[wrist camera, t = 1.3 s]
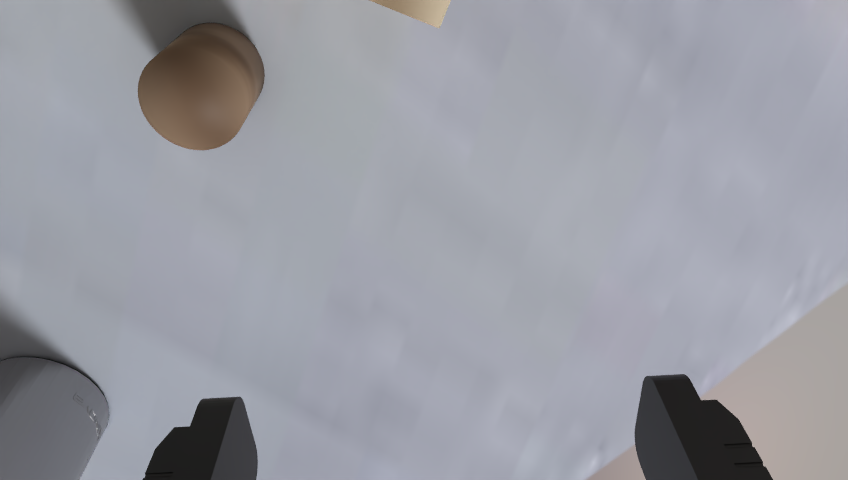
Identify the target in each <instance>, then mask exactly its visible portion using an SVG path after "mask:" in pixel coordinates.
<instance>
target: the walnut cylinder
mask: <svg viewBox="0 0 848 480" xmlns="http://www.w3.org/2000/svg"><path fill="white" fill-rule="evenodd" d="M264 76H265V75H264V66H263V62H262V59H261V57H260V55H259V53H258V51H257V49H256V48H255V46H254V45H253V44H252V43H251V41H250V40H249V39H248V38H247V37H246V36H244V35H243V34H242V33H240V32H239V31H237V30H235V29H233V28H231V27H229V26H226V25H223V24H218V23H202V24H198V25H195V26H192V27H190V28H189V29H187V30H186V31H184V32H183V33H182V34H181V35H180V36H178V37H177V38H176V39H175V40H174V41H173V42H172V43H170V44H169V45H168V46H167V47H166V48H165V49H164V50H162V51H161V52H160V53H159V54H158V55H157V56H155V57H154V58H153V59H152V60H151V61H150V62H149V63H148V64H147V65H146V67H145V68H144V70H143V71H142V74H141V76H140V79H139V83H138V98H139V103H140V106H141V109H142V111H143V114H144V116H145V117H146V119H147V121H148V122H149V123H150V125H151V126H152V127H153V128H154V129H155V130H156V131H157V132H158V133H159V134H160V135H161V136H162V137H164V138H165V139H167V140H168V141H170V142H172V143H174V144H176V145H178V146H181V147H184V148H188V149H193V150H209V149H214V148H217V147H220V146H222V145H224V144H226V143H227V142H229V141H230V140H231V139H232V138H233V137H235V135H236V134H237V133H238V131H239V130H240V128H241V126H242V125H243V123H244V121H245V119H246V118H247V116H248V114H249V112H250V111H251V109H252V107H253V105H254V104H255V102H256V100H257V98H258V97H259V95H260V93H261V91H262V88H263V84H264Z"/></svg>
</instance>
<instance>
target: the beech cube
mask: <svg viewBox="0 0 848 480" xmlns="http://www.w3.org/2000/svg"><path fill="white" fill-rule="evenodd" d="M370 1H372V2H375V3H377V4H380V5H382V6H385V7H387V8H390V9H392V10H395V11H397V12H400V13H402V14H405V15H407V16H410V17H412V18H415V19H417V20H420V21H422V22H425V23H427V24H429V25H432V26H434V27H437V28H440V26H441V23H442V21H443V18H444V16H445V13H446V11H447V8H448V6H449V3H450V1H451V0H370Z"/></svg>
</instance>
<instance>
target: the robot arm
mask: <svg viewBox="0 0 848 480" xmlns="http://www.w3.org/2000/svg"><path fill="white" fill-rule="evenodd" d="M108 420H109V407H108V404H107V402H106V399H105V397H104V396H103V394H102V393H101V391H100V390H99V389H98V387H97V386H96V385H94V384H93V383H92V382H91V381H90V380H89V379H88V378H87V377H85V376H84V375H82V374H81V373H79V372H78V371H76V370H74V369H72V368H70V367H68V366H65V365H63V364H60V363H57V362H54V361H51V360H46V359H40V358H31V357H19V358H11V359H6V360H3V361H0V480H79V479H80V477H81V476H82V474H83V472H84V470H85V468H86V466H87V464H88V462H89V460H90V458H91V456H92V454H93V452H94V450H95V448H96V446H97V444H98V442H99V440H100V438H101V436H102V434H103V432H104V430H105V428H106V426H107V424H108ZM635 445H636V451H637V455H638V459H639V462H640V465H641V468H642V470H643V473H644V476H645V478H646V480H773V479H772V477H771V475H770V474H769V472H768V470H767V468H766V467H764V466H763V461H762V460H761V458H760V456H759V454H758V453H757V451H756V449H755V448H754V447H752V442H751V440H750V439H749V437H748V435H747V433H746V432H745V430H744V428H743V426H742V425H741V423H740V421H739V420H738V418H736V417H735V416H734V415H733V414H732V413H731V412H730V411H729V410H727V409H726V408H725V407H724V406H723V405H722V404H721V403H719V402H718V401H717V400H703V401H702V400H700V398H699V396H698V394H697V392H696V390H695V388H694V386H693V384H692V382H691V381H690V379H689V378H688V376H686V375H685V374H678V375H660V376H646V377H645V378H644V381H643V385H642V391H641V397H640V403H639V409H638V414H637V420H636V426H635ZM257 463H258V460H257V449H256V445H255V441H254V438H253V434H252V430H251V427H250V423H249V419H248V416H247V412H246V408H245V405H244V402H243V400H242V398H241V397H228V398H209V399H202V400H201V401H200V402H199V404H198V406H197V409H196V412H195V414H194V417H193V420H192V423H191V425H190V427H174V428H173V430H172V431H171V432H170V433H169V434H168V435H167V436H166V437H165V439H164V440H163V441H162V442H161V443H160V444H159V445H158V446H157V448H156V449H155V451H154V453H153V456H152V458H151V460H150V463H149V465H148V468H147V470H146V473H145V478H143V480H256V476H257Z"/></svg>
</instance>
